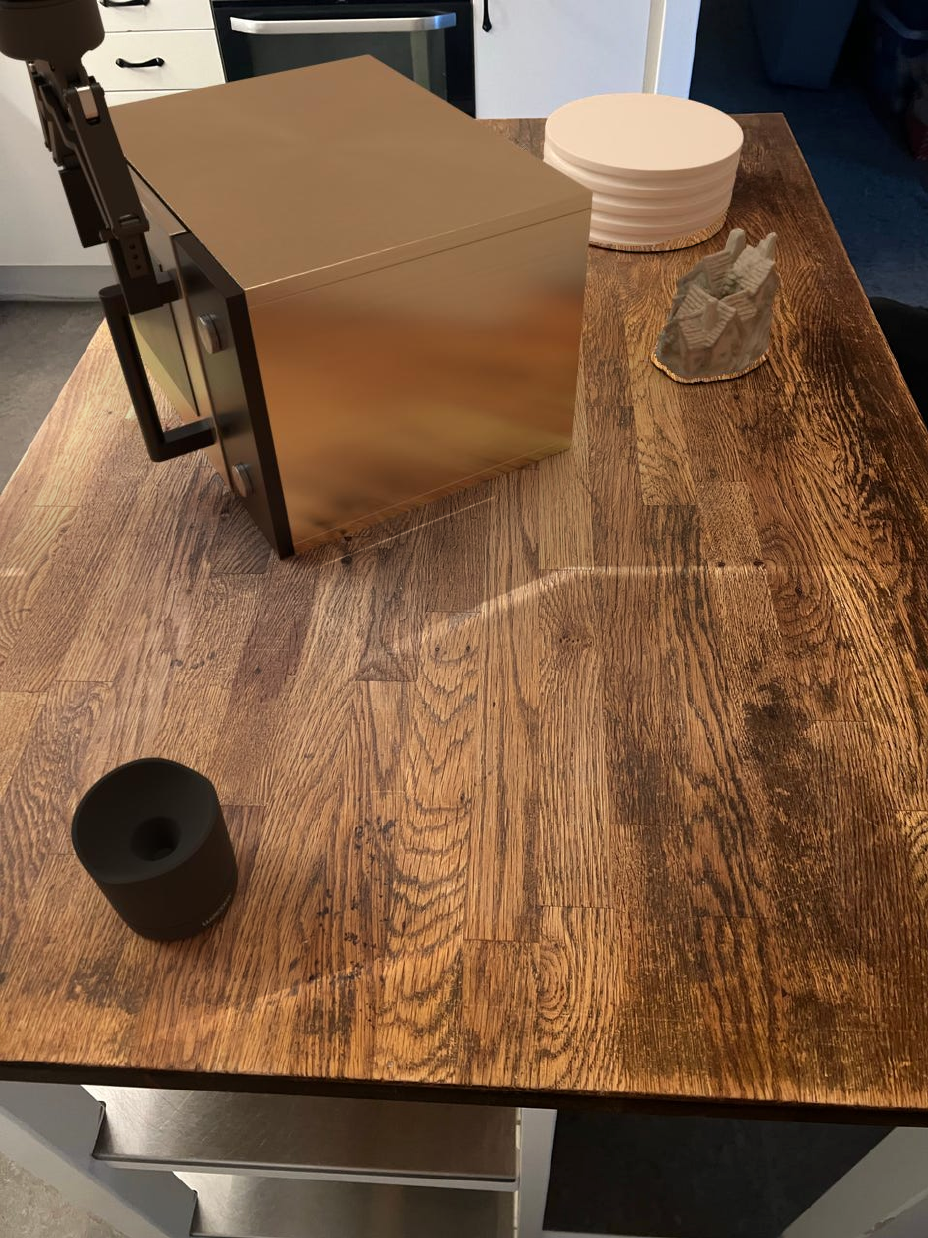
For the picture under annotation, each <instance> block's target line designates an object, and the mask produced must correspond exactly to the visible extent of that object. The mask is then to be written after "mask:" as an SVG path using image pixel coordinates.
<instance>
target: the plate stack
mask: <svg viewBox="0 0 928 1238" xmlns="http://www.w3.org/2000/svg"><path fill="white" fill-rule="evenodd" d="M544 127H545V128H544V143H543V159H542V161H544V162H545V163H547V164H549V165H550V166H552V167H554V168H555V169H557V170H558V171H560V172H562V173H563V174H565V175H567V176H568V177H570V178H572V179H573V180H575V181H576V182H578V183H580V184H581V185H583V186H585V187H586V188H588V189H589V190H591V191H593V198H592V212H591V224H590V236H589V241H593V242H599V243H603V244H612V245H624V246H645V245H655V244H660V243H663V242H664V241H666V240H667V241H668V240H671V241H672V240H673V239H676V238H681V237H685V236H690V235H692V234H695V233H696V232H699V231H701V230H703V229H705V228H707V227H708V226H710V225H712V224H713V223H714V222H715V221H716V220H717V219H718V218H720V217H721V216H722V215H723V214H724V213H725V212H726V211H727V209H728V207H730V205H731V201H732V196H733V189H734V186H735V182H736V179H737V178H736V177H737V170H738V169H739V168H738V167H739V164H740V158H741V155H740V154H741V152H742V149H743V144H744V132H743V129H742V127H741V126H740V125H739V123H738V122H737V121H735V119H734V118H732V117H731V116H730V115H728V114H727V113H725V112H723V111H721V110H719V109H717V108H715V107H713V106H710V105H708V104H705V103H702V102H698V101H695V100H691V99H687V98H683V97H679V96H672V95H666V94H659V93H658V94H657V93H646V92H616V93H605V94H597V95H591V96H587V97H583V98H579V99H576V100H572V101H570V102H568V103H565V104H563V105H561V106H560V107H558V108H556V109H555V110H554V111H552V113H551V114H549V116H548V117H547V119H546V122H545V126H544ZM667 241H666V242H667ZM671 241H670V242H671ZM666 242H664V243H666ZM668 243H669V242H668Z"/></svg>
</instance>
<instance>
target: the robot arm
mask: <svg viewBox="0 0 928 1238" xmlns="http://www.w3.org/2000/svg"><path fill="white" fill-rule="evenodd" d="M105 37H106V30H105V27H104V23H103V20H102V16H101V12H100V8H99V3H98V0H0V53H1V54H2V55H3V56H5V57H7V58H10V59H12V60H15V61H20V62H21V61H22V62H25V65H26V68H27V72H28V77H29V81H30V84H31V85H30V86H31V89H32V93H33V97H34V102H35V106H36V109H37V113H38V114H37V115H38V118H39V123H40V126H41V127H40V128H41V130H42V135H43V139H44V142H43V143H44V147H45V148H46V149H47V150H48V152H49V153H51V156H52V157H51V158H52V161H53V163H54V164H55V165H56V167H57V168H61V167H62V169H58V170H57V172H58V175H59V179H60V182H61V184H62V187H63V191H64V195H65V197H66V200H67V204H68V206H69V209H70V213H71V216H72V220H73V222H74V224H75V229H76V231H77V232H76V233H77V235H78V238H79V242H80V244H81V246H82V248H83V249H88V248H92V247H97V246H100V245H105V243H108V245H109V248H110V252H111V255H112V258H113V262H114V265H115V269H116V272H117V275H118V279H119V282H120V285H121V289H122V292H123V295H124V299H125V302H126V305H127V309H128V312H129V313H130V315H135V314H138V313H142V312H145V311H149V310H152V309H156V308H159V307H163V302H162V298H161V294H160V291H159V287H158V283H157V279H156V276H155V272H154V268H153V265H152V261H151V257H150V253H149V250H148V246H147V242H146V238H145V235H144V232H148V231H149V229H150V226H149V221H148V219H146V216H145V213H144V210H143V208H142V205H141V202H140V199H139V196H138V194H137V191H136V188H135V185H134V182H133V180H132V177H131V174H130V171H129V168H128V165H127V163H126V160H125V157H124V154H123V151H122V149H121V146H120V143H119V140H118V137H117V134H116V132H115V129H114V126H113V123H112V120H111V117H110V114H109V110H108V107H109V106H108V104H107V101H106V97H105V95H106V93H105V90H104V87H102V85H101V83H100V82H99V81H97V79H96V78H95V77H96V76H94V75H89V74H88V71H87V69H86V67H85V66H84V64H83V61H82V60H83V59H82V58H83V57H84V56H85V55H86V53H88V52H89V51H91V52H93V51H95V50H96V49H97V48H98V47H100V46H101V45H102V44H103V42H104V40H105ZM126 215H130V216H127V217H123V218H120V217H122V216H126Z"/></svg>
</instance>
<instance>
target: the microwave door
mask: <svg viewBox="0 0 928 1238" xmlns="http://www.w3.org/2000/svg"><path fill="white" fill-rule="evenodd" d="M127 165H128V164H127ZM128 168H129V171H130V174H131V177H132V180H133V182H134V185H135V188H136V191H137V194H138V196H139V199H140V202H141V205H142V208H143V210H144V213H145V216H146V219H148V221H149V226H150V229H149V231H148V232H144V235H145V238H146V242H147V246H148V250H149V253H150V257H151V261H152V265H153V268H154V272H155V276H156V279H157V283H158V287H159V291H160V294H161V298H162V302H163V307H159V308H156V309H152V310H149V311H145V312H142V313H138V314H135V315H130V313H129V312H128V309H127V305H126V302H125V299H124V295H123V292H122V289H121V285H120V282H119V279H118V275H117V272H116V269H115V265H114V262H113V258H112V255H111V252H110V248H109V245H108V243H104V245H105V247H106V250H107V254H108V257H109V261H110V264H111V268H112V270H113V275H114V277H115V281H116V284H112V285H108V286H105V287H103V288H101V289H100V290H99V291H98V293H97V295H98V299H99V301H100V304H101V307H102V311H103V315H104V318H105V320H106V323H107V327H108V330H109V333H110V336H111V339H112V343H113V346H114V349H115V352H116V355H117V359H118V362H119V365H120V368H121V372H122V375H123V378H124V381H125V384H126V387H127V391H128V394H129V396H130V399H131V403H132V407H133V410H134V413H135V416H136V419H137V422H138V426H139V429H140V432H141V435H142V439H143V442H144V445H145V447H146V452H147V454H148V457H149V460H150V461H151V462H153V463H164V462H167V461H170V460H174V459H175V458H179V457H182V456H184V455H188V454H191V453H193V452H196V451H200V450H202V451H203V452H204V454H205V455H206V456H207V458H208V460H209V461H210V463H211V465H212V466H213V467H214V469H215V471H217V473H218V475H219V476H220V477H221V479H222V480H223V482H224V483H225V485H226V486H227V488H228V489H229V491H230V492H235V491H234V487H233V483H232V479H231V475H230V471H229V466H228V462H227V458H226V454H225V450H224V446H223V442H222V437H221V433H220V429H219V425H218V421H217V417H216V412H215V408H214V404H213V400H212V396H211V392H210V388H209V383H208V379H207V375H206V371H205V367H204V363H203V359H202V354H201V350H200V346H199V342H198V338H197V334H196V329H195V325H194V321H193V317H192V313H191V309H190V305H189V300H188V296H187V292H186V288H185V284H184V280H183V275H182V271H181V267H180V263H179V259H178V255H177V251H176V246H175V242H174V237H176V236H180V235H184V234H187V231H186V230H185V229H184V228H183V226H182V225H181V224H180V223H179V222H178V221H177V220H176V219H175V217H174V216H173V215H172V214H171V213H170V212H169V211H168V210H167V208H166V207H165V206H164V205H163V204H162V203H161V202H160V200H159V199H158V198H157V197H156V196H155V195H154V194H153V193H152V191H151V190H150V189H149V188H148V187H147V186H146V185H145V183H144V182H143V181H142V180H141V179H140V178H139V177H138V176H137V174H136V173H135V172H134V171H133V170H132V169H131V168H130V166H129V165H128ZM127 216H130V215H126V216H122V217H120V218H123V217H127ZM141 357H142V358H141ZM142 359H143V360H142ZM143 361H144V362H145V363H144V362H143ZM145 364H146V365H147V366H146V365H145ZM144 365H145V366H146V368H147V367H148V368H147V369H148V370H149V372H150V374H151V375H152V377H153V378H154V379H155V381H156V383H157V384H158V385H159V387H160V388H161V390H162V392H163V393H164V394H165V396H166V397H167V399H168V401H169V402H170V403H171V404H172V406H173V408H174V409H175V411H176V412H177V414H178V415H179V416H180V418H181V420H182V421H183V423H184V425H181V426H177V427H174V428H172V429H169V430H166V431H164V429H163V426H162V423H161V419H160V417H159V413H158V410H157V406H156V403H155V399H154V396H153V392H152V389H151V385H150V382H149V379H148V376H147V372H146V368H145V366H144Z"/></svg>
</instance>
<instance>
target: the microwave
mask: <svg viewBox="0 0 928 1238" xmlns="http://www.w3.org/2000/svg"><path fill="white" fill-rule="evenodd" d="M107 107H108V110H109V114H110V117H111V120H112V123H113V126H114V129H115V132H116V134H117V137H118V140H119V143H120V146H121V149H122V151H123V154H124V157H125V160H126V163H127V164H128V165H129V166H130V168H131V169H132V170H133V171H134V172H135V173H136V174H137V176H138V177H139V178H140V179H141V180H142V181H143V182H144V183H145V185H146V186H147V187H148V188H149V189H150V190H151V191H152V193H153V194H154V195H155V196H156V197H157V198H158V199H159V200H160V202H161V203H162V204H163V205H164V206H165V207H166V208H167V210H168V211H169V212H170V213H171V214H172V215H173V216H174V217H175V219H176V220H177V221H178V222H179V223H180V224H181V225H182V226H183V228H184V229H185V230H186V231H187V234H184V235H180V236H176V237H174V242H175V246H176V251H177V255H178V259H179V263H180V267H181V271H182V275H183V280H184V284H185V288H186V292H187V296H188V300H189V305H190V309H191V313H192V317H193V321H194V325H195V329H196V334H197V338H198V342H199V346H200V350H201V354H202V359H203V363H204V367H205V371H206V375H207V379H208V383H209V388H210V392H211V396H212V400H213V404H214V408H215V412H216V417H217V421H218V425H219V429H220V433H221V437H222V442H223V446H224V450H225V454H226V458H227V462H228V466H229V471H230V475H231V479H232V483H233V487H234V491H233V492H234V494H235V495H236V497H237V499H238V500H239V502H240V503H241V504H242V506H243V507H244V508H245V510H246V512H247V513H248V514H249V516H250V518H251V520H252V521H253V522H254V524H255V525H256V526H257V528H258V529H259V531H260V533H261V534H262V535H263V537H264V539H265V540H266V541H267V543H268V544H269V546H270V547H271V549H272V550H273V552H274V553H275V555H276V556H277V557H278V559H279V560H280V561H281V560H284V559H287V558H289V557H292V556H294V555H295V556H297V555H300V554H302V553H305V552H307V551H310V550H312V549H315V548H317V547H320V546H322V545H325V544H328V543H329V542H333V541H336V540H338V539H341V538H343V537H346V536H348V535H351V534H353V533H355V532H358V531H362V530H364V529H366V528H369V527H371V526H374V525H377V524H379V523H381V522H384V521H387V520H389V519H391V518H395V517H397V516H399V515H402V514H405V513H407V512H409V511H412V510H414V509H417V508H419V507H422V506H425V505H428V504H430V503H433V502H436V501H438V500H440V499H443V498H445V497H448V496H450V495H453V494H456V493H458V492H461V491H464V490H466V489H469V488H471V487H474V486H476V485H479V484H482V483H485V482H488V481H490V480H493V479H495V478H498V477H500V476H503V475H505V474H508V473H511V472H513V471H516V470H519V469H521V468H523V467H526V466H529V465H531V464H533V463H536V462H539V461H541V460H544V459H547V458H549V457H551V455H552V456H554V455H556V453H557V452H560V451H562V450H565V449H567V448H570V447H571V448H572V442H573V434H574V422H575V409H576V399H577V385H578V374H579V363H580V353H581V352H580V351H581V342H582V341H581V339H582V328H583V319H584V318H583V315H584V305H585V293H586V292H585V291H586V281H587V270H588V269H587V268H588V259H589V258H588V257H589V246H590V245H589V236H590V224H591V212H592V198H593V191H591V190H589V189H588V188H586V187H585V186H583V185H581V184H580V183H578V182H576V181H575V180H573V179H572V178H570V177H568V176H567V175H565V174H563V173H562V172H560V171H558V170H557V169H555V168H554V167H552V166H550V165H549V164H547V163H545V162H544V161H543V159H541V158H539V157H537V156H535V155H534V154H532V153H531V152H529V151H527V150H526V149H525V148H524V147H523V148H524V149H525V150H524V149H523V148H521V147H519V146H518V145H516V144H514V143H513V142H511V141H509V140H508V139H506V138H505V137H506V136H505V137H504V136H502V134H500V133H497V132H496V131H495V130H493V129H491V128H490V127H488V126H487V125H486V124H484V123H483V122H480V121H478V120H477V119H475V118H473V117H472V116H470V115H469V114H467V113H465V112H464V111H462V110H460V109H459V108H457V107H455V106H454V105H452V104H451V103H449V102H447V101H446V100H444V99H443V98H441V97H439V96H438V95H436V94H435V93H433V92H431V91H430V90H428V89H426V88H424V87H423V86H421V85H420V84H418V83H416V82H415V81H413V80H411V79H409V78H408V77H406V75H404V74H401V73H400V72H399V71H397V70H395V69H393V68H392V67H391V66H389V65H387V64H385V63H384V62H382V61H380V60H379V59H377V58H375V56H373V55H371V54H369V53H368V54H363V55H358V56H357V55H356V56H353V57H348V58H343V59H338V60H334V61H328V62H323V63H319V64H313V65H309V66H308V65H307V66H304V67H299V68H294V69H289V70H283V71H279V72H274V73H270V74H265V75H264V74H263V75H260V76H255V77H250V78H249V77H248V78H244V79H239V80H235V81H229V82H224V83H220V84H215V85H209V86H205V87H200V88H196V89H195V88H194V89H190V90H185V91H180V92H175V93H170V94H166V95H161V96H155V97H151V98H146V99H141V100H136V101H131V102H127V103H126V102H125V103H121V104H116V105H111V106H107ZM571 448H570V449H571ZM567 450H568V449H567ZM565 451H566V450H565ZM562 452H563V451H562ZM560 453H561V452H560ZM557 454H558V453H557Z"/></svg>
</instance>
